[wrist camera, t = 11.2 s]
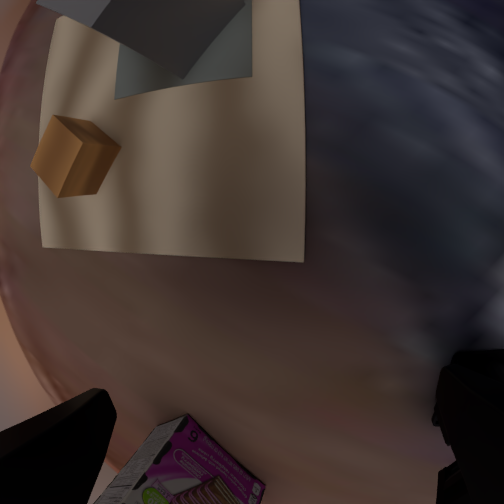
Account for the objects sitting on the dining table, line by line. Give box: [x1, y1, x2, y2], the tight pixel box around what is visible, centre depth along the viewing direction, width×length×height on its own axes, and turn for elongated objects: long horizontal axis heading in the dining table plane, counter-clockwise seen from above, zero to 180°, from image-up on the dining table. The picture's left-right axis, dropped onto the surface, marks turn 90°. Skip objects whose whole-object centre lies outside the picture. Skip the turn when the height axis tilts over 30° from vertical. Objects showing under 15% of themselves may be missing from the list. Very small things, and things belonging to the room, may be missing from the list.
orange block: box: [31, 115, 122, 198], centre depth 18 cm, size 4×4×4 cm
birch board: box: [38, 0, 306, 262], centre depth 19 cm, size 22×22×1 cm
